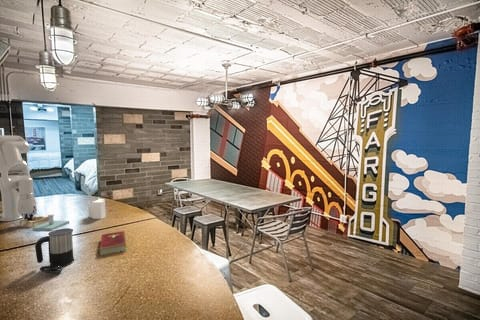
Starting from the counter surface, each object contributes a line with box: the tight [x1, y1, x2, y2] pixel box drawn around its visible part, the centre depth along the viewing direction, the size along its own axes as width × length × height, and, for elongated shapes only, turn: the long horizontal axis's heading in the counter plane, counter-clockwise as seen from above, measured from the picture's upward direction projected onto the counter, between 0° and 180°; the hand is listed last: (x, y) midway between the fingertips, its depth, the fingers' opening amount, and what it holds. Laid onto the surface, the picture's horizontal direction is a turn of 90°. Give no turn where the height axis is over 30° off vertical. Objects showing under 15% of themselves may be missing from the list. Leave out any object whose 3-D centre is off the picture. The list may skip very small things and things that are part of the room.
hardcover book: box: [99, 230, 127, 256], centre depth 133 cm, size 12×21×4 cm, turn 26°
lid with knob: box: [32, 213, 70, 232], centre depth 163 cm, size 13×14×8 cm
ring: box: [18, 215, 49, 228], centre depth 168 cm, size 11×11×4 cm
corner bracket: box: [88, 198, 107, 220], centre depth 184 cm, size 11×11×12 cm
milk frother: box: [34, 228, 75, 275], centre depth 110 cm, size 14×16×15 cm
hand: (28, 223), depth 168 cm, fingers closed on ring, 1 cm apart
